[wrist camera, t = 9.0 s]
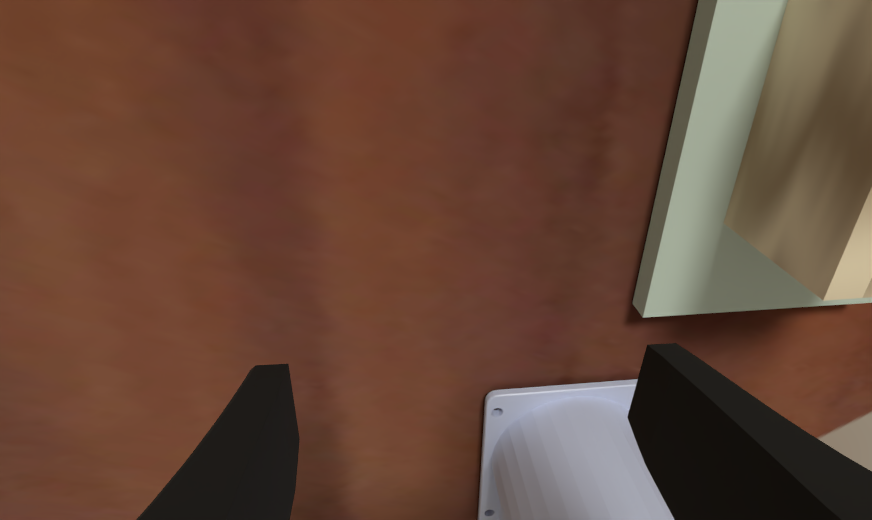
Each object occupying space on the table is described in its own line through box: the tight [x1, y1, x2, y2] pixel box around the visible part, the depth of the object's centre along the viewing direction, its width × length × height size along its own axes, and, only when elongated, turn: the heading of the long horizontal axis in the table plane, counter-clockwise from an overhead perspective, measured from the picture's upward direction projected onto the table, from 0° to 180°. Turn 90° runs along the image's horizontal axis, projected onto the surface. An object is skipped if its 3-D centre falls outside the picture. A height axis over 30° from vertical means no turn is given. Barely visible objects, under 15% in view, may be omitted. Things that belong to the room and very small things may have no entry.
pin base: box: [632, 0, 872, 318], centre depth 17 cm, size 16×10×4 cm, turn 0°
